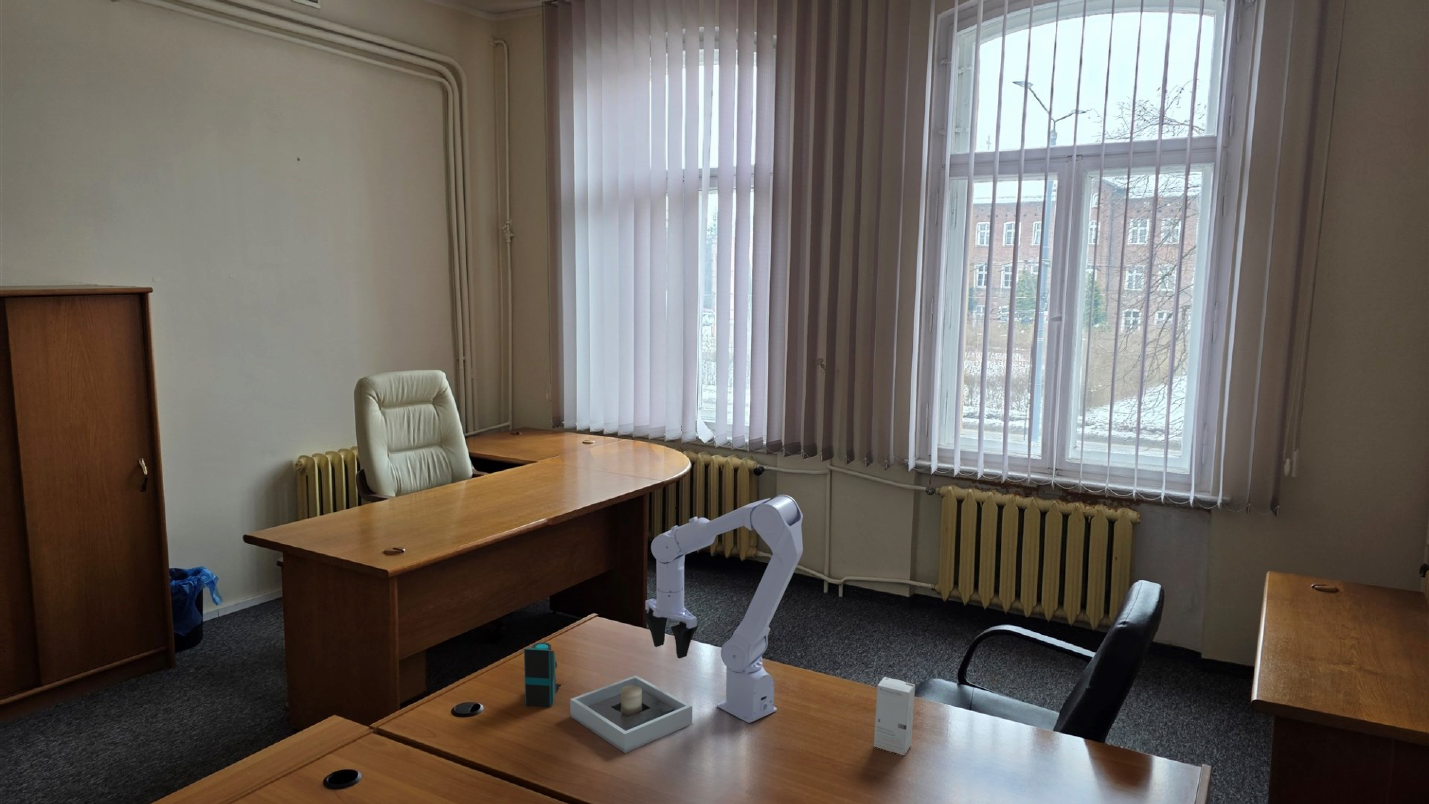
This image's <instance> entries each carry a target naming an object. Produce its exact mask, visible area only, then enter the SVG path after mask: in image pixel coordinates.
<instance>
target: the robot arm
mask: <svg viewBox="0 0 1429 804" xmlns="http://www.w3.org/2000/svg"><path fill="white" fill-rule="evenodd" d="M803 519H804V514H803V512H802V511H801V508H800V507H799V505H798V503H797V501H796V500H795V499H794V498H793V497H791V496H790V495H787V494H778V495H776V496H775V497H773V498H772V499H771V497H769V498H763V499H761V500H757V501H754V502H752V503H748V504H746V505H743V506H741V507H739V508H737V509H735V510H732V511H730V512H728V513H727V512H726V513H725V514H723V515H720V516H719V517H716V518H714V519H712V520H709V519H708V518H706V517H699V518H698V516H694V517H691V518H689V519H688V522H687V523H685V524H683V525H680V526H678V525H675V526H672V527H670V529H669V530H668V531H665V532H663V533H660V534H659V535H657V536H655V537H654V539H653V540H652V542H651V545H650V550H651V553H652V555H653V557H654V558H655V559H656V560H655V561H656V599H655V598H650V599H647V600H645V610H646V611H648V612H646V613H644V614H643V619H644V620H645V622H646V624H647V626H648V628H649V631H650V634H651V638H652V642H653V646H654V648H658V647H661V646H664V644H665V641H666V640H665V639H666V627H667V621H668V619H669V620H670V619H671V620H674V621H675V622H677V623H678V624H676V625H673V626H671V627H670V629H671V632H672V635H673V637H674V642H675V651H676V657H677V658H678V659H679V660H680V659H682V658H686V657H687V656H688V652H689V650H690V649H689V648H690V644H691V642H692V639H693V637H694V636H695V633H696V631H697V630H698V628H699V624H698V623H697V619H698V618H697V617H696V616H694V615H693V614H692V613H691V612H690V611H689V610H688V609H687V608H686V607H685V560H686V559H685V558H686V555H688V554H691V553H692V552H696V551H698V550H702V549H704V548H706V547H708V546H711V545H712V544H713V543H714V542H715V539H716V537H717V536H718V535H721V534H724V533H727V532H731V531H732V530H735V529H738V528H741V527H745V528H746V529H748V530H749V531H753V530H754V531H756V534H758V535H759V536H760V537H761V539H762V541H764V542H765V543H766V544H767V546H768V547H769V548H770V550H771V552H772V555H771V558H770V559H769V562H768V564H767V566H766V569H765V570H764V573H763V576H762V577H761V580H760V582H759V584H758V585H757V588H756V591H755V593H754V595H753V597H752V599H751V601H750V604H749V605H748V608H747V610H746V612H745V615H744V617H743V619H742V621H741V622H740V624H739V625H738V626H737V627H736V629H735V630H734V631H733V634H732V636H731V637H730V639H728V640H727V641H725V642H724V643H723V645H722V646H721V649H720V657H721V661H722V663H723V665H724V666H725V667H726V668H725V669H726V672H725V673H726V674H725V677H726V680H725V682H726V684H725V686H726V688H725V690H726V691H725V694H726V695H725V696H726V697H725V698H726V699H725V700H722V701H719V702H717V704H716V707H717V708H720V709H721V710H723V711H725V712H727V713H729V714H731V715H732V716H734V717H736V718H738V719H740V720H742V721H744V722H746V723H748V724H751V723H753V722H756V721H757V720H759V719H761V718H764V717H766V716H768V715H770V714H772V713H774V712H776V711H778V710H777V707H776V706H775V680H774V678H773V676H772V675H770V674H769V673H768V672H767V671H766V670H765V668H764V667H763V666H764V665H763V664H764V663H763V654H764V653H765V652H766V650H768V649H767V648H768V643H769V642H768V641H769V640H768V637H769V633H770V631H771V628H770V627H769V626H770V624H771V621H772V619H773V618H774V615H775V613H776V610H777V609H778V606H779V604H780V602H781V600H782V598H783V596H784V594H785V591H786V590H787V588H788V585H789V583H790V581H791V579H792V577H793V574H794V572H795V570H796V568H797V566H798V564H799V562H800V560H801V557H802V555H803V552H804V547H803V543H804V542H803V531H802V523H803Z"/></svg>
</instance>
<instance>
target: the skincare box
mask: <svg viewBox="0 0 1429 804" xmlns="http://www.w3.org/2000/svg"><path fill="white" fill-rule="evenodd" d="M876 686H877V687H876V703H875V705H876V706H875V721H874V738H873V739H874V740H873V741H874V742H873V747H874V746H875V747H878V748H883V749H886V750H889V751H894V752H897V753H900V754H905V753H906V752H907V750H908V749H909V747H910V746H911V747H912V741H913V740H912V739H913V724H914V723H913V722H914V705H915V692H916V684H913V683H910V682H907V681H903V680H900V679H895V678H890V677H887V676H883V678H882V679H881V680H880V681H879V683H878V684H877V685H876ZM875 747H874V748H875ZM911 747H910V748H911ZM878 748H877V749H878ZM909 750H910V749H909ZM909 750H908V751H909ZM907 753H908V752H907ZM907 753H906V754H907ZM906 754H905V755H906Z"/></svg>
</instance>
